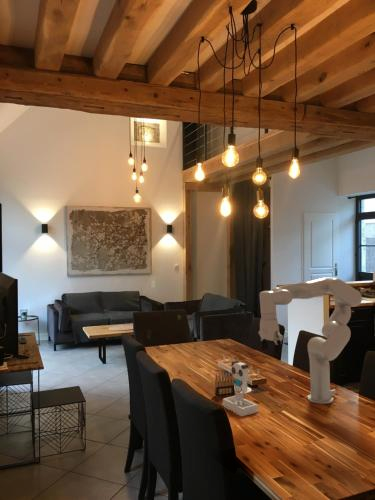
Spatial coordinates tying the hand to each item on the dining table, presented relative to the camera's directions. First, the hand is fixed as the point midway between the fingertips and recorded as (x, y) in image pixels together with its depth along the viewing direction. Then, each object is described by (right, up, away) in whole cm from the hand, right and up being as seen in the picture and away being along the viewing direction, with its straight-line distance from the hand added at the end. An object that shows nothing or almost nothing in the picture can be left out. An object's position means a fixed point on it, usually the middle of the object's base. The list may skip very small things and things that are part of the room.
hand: (271, 350), depth 211 cm
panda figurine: (-12, -28, +25) cm, 39 cm away
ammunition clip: (-21, -28, +17) cm, 39 cm away
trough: (-16, -28, -3) cm, 32 cm away
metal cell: (-16, -27, -2) cm, 31 cm away
